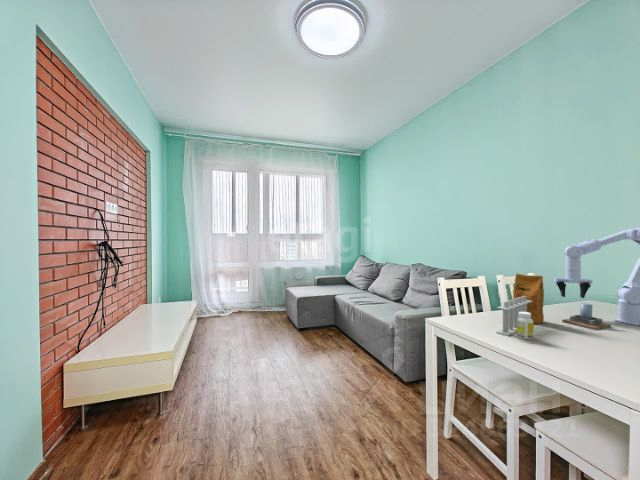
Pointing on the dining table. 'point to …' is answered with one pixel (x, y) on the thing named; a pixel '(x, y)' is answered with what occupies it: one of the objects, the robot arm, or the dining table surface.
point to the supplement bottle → (525, 325)
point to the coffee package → (531, 294)
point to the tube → (586, 311)
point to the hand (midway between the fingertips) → (572, 297)
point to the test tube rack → (512, 314)
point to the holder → (586, 322)
